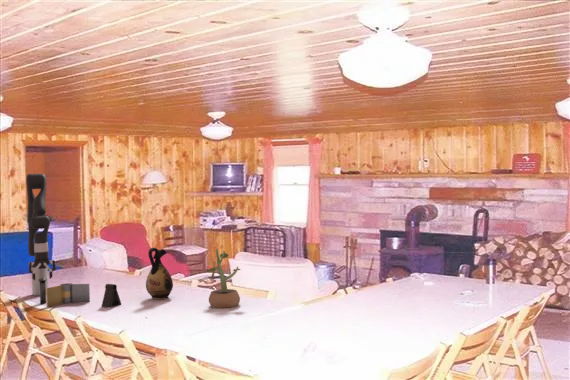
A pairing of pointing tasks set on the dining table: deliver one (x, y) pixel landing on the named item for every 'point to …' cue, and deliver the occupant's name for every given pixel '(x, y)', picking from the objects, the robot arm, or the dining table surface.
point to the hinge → (67, 294)
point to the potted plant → (223, 287)
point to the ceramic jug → (158, 277)
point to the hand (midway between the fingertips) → (42, 279)
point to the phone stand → (111, 296)
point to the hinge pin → (42, 290)
